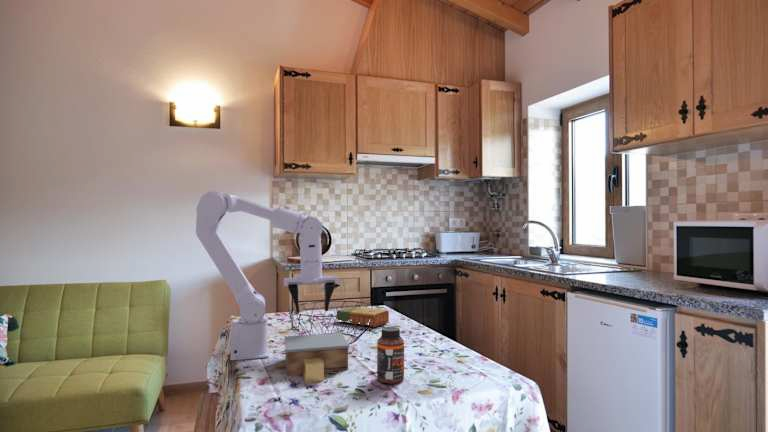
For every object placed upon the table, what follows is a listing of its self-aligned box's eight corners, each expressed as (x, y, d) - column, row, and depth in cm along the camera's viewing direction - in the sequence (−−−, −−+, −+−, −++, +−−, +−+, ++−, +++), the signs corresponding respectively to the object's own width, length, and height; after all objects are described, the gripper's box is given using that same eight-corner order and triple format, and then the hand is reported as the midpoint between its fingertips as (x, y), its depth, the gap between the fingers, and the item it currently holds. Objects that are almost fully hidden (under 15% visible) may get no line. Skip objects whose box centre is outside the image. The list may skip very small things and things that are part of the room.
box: (287, 375, 103) (287, 353, 103) (285, 358, 115) (285, 339, 115) (348, 369, 106) (347, 348, 106) (340, 354, 118) (340, 335, 118)
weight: (305, 383, 98) (305, 365, 98) (303, 376, 102) (303, 358, 102) (324, 381, 99) (323, 363, 99) (320, 374, 104) (320, 357, 104)
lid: (286, 352, 103) (286, 350, 103) (284, 338, 115) (284, 336, 115) (349, 347, 106) (348, 345, 106) (340, 334, 118) (340, 332, 118)
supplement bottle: (395, 386, 96) (395, 333, 96) (372, 381, 99) (371, 329, 99) (409, 378, 101) (408, 327, 101) (386, 373, 104) (386, 324, 104)
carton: (374, 327, 144) (374, 314, 144) (335, 322, 153) (335, 309, 153) (389, 322, 151) (388, 309, 151) (351, 317, 160) (350, 305, 160)
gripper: (283, 263, 117) (284, 316, 117) (339, 261, 120) (340, 312, 120) (283, 261, 124) (284, 310, 124) (336, 259, 127) (337, 307, 127)
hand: (312, 311), depth 122 cm, fingers open, 7 cm apart
